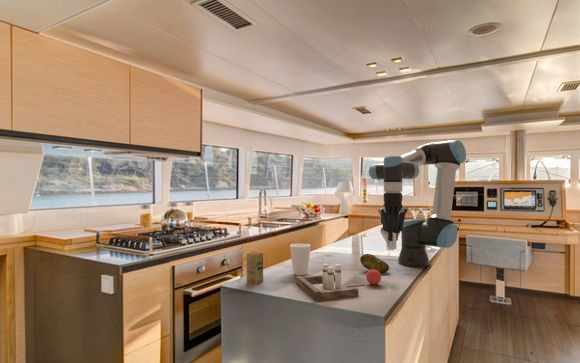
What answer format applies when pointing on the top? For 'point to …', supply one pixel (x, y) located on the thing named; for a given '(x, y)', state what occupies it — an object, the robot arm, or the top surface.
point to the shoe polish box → (254, 268)
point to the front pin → (338, 276)
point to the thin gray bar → (356, 285)
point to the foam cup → (300, 258)
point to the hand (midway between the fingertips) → (393, 248)
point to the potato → (374, 263)
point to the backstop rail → (320, 295)
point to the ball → (373, 277)
